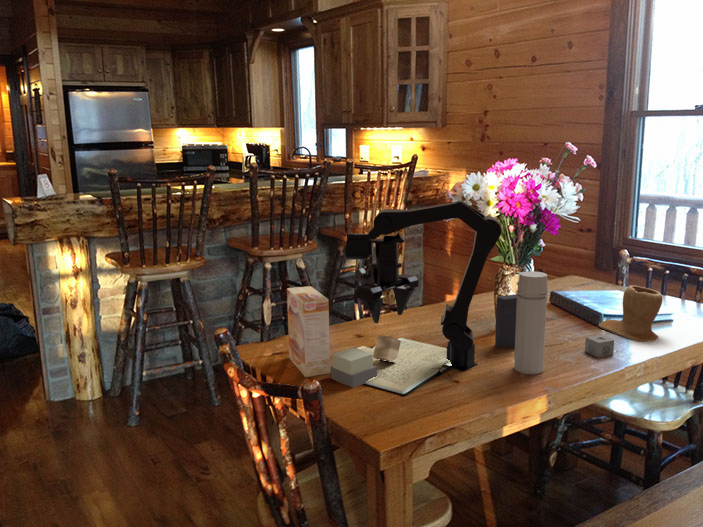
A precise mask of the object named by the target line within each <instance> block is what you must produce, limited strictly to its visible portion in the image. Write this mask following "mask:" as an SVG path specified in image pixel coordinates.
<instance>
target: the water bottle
mask: <svg viewBox="0 0 703 527" xmlns="http://www.w3.org/2000/svg"><path fill="white" fill-rule="evenodd" d="M548 281H549V280H548V274H547V273H545V272H542V271H532V270H531V271H522V272H520V273H519V277H518V285H517V290H516V291H515V293H516V294H518V295H517V308H516V332H515V347H514V357H513V359H514V360H513V361H514V364H513V369H514V370H515V371H516V372H518V373H521V374H523V375H539V374H541V373H543V371H544V362H545V361H544V360H545V359H544V358H545V341H546V322H547V321H546V319H547V304H548V302H547V301H548V300H547V299H548V297H549V296H550V294H549V287H548V286H549V284H548V283H549V282H548Z"/></svg>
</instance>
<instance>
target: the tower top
mask: <svg viewBox="0 0 703 527" xmlns="http://www.w3.org/2000/svg"><path fill="white" fill-rule="evenodd" d="M373 354H374V353H373ZM373 354H372V353H371V352H368V351H366V350H363V349H360V348H357V347H350V348H346V349H343V350H340V351H336V352H333V353H331V362H332V363H331V365H332V366H331V367H333V368H335V369H338V370H340V371H342V372H345V373H347V374H350V375H353V374H356V373H359V372H362V371H364V370H367V369H370V368H373V366H374V364H373V360H374V358H373Z"/></svg>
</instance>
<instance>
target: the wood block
mask: <svg viewBox="0 0 703 527" xmlns="http://www.w3.org/2000/svg"><path fill="white" fill-rule="evenodd" d="M401 342H402V341H401V340H400V339H397V338H396V337H394V336H388V335H383V334H382V335H380V334H378V335H377V337H376V342H375V346H374V350H373V359H376V360H378V359H380V360H386V361H391V362H392V361H393V360H395V359H396V358H397V359H398V356H399V351H400V346H401ZM380 360H379V361H380Z"/></svg>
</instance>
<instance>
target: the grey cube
mask: <svg viewBox="0 0 703 527" xmlns="http://www.w3.org/2000/svg"><path fill="white" fill-rule="evenodd" d="M584 342H585V345H584V352H586V353H587V354H589V355H592V356H593V357H596V358H597V359H599V358H603V357H604V358H605V357H609V356H613V355H614V349H615V340H614V339H613V338H609V337H607V336H605V335H602V334H598V335H597V334H596V335H591V336H586V337H585V341H584Z"/></svg>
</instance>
